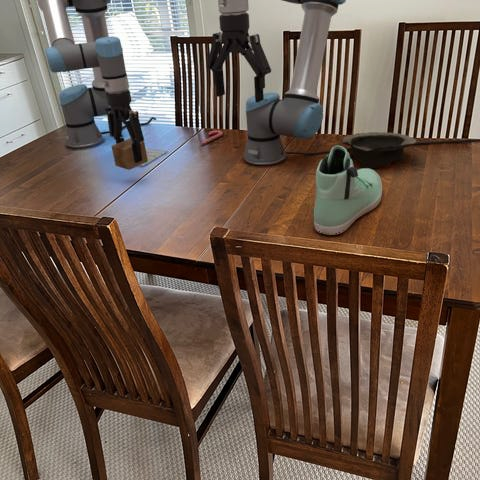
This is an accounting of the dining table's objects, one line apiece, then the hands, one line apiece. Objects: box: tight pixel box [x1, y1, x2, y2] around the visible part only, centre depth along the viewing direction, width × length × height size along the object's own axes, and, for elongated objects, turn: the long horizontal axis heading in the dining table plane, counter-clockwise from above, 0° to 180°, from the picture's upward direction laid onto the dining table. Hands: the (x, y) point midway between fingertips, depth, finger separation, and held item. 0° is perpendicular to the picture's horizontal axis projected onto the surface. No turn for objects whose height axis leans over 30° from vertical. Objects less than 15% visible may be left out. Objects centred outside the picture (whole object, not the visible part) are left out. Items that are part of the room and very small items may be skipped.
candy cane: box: [200, 130, 224, 146], centre depth 198 cm, size 6×15×2 cm, turn 145°
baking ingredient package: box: [140, 149, 166, 166], centre depth 185 cm, size 9×1×15 cm
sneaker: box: [313, 145, 383, 236], centre depth 133 cm, size 14×35×20 cm, turn 152°
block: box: [110, 137, 148, 171], centre depth 161 cm, size 7×8×7 cm
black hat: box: [341, 131, 418, 169], centre depth 166 cm, size 25×25×9 cm
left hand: (131, 159), depth 162 cm, fingers closed on block, 7 cm apart
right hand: (239, 98), depth 131 cm, fingers open, 13 cm apart
